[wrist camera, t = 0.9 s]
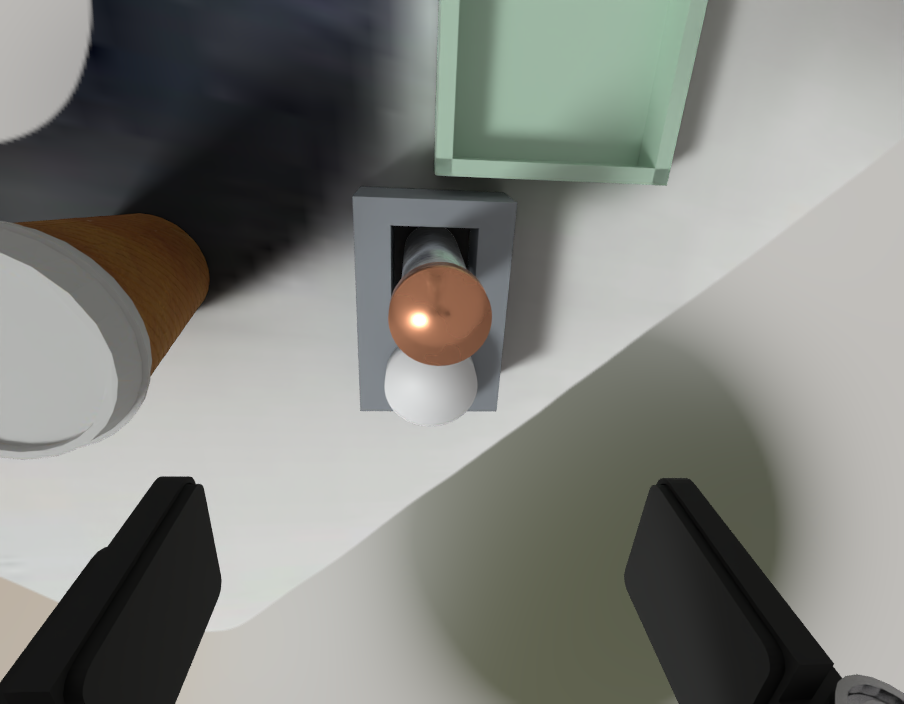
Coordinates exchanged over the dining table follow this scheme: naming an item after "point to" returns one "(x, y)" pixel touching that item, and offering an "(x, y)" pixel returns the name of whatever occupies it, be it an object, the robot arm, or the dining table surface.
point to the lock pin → (437, 301)
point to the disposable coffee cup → (87, 324)
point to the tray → (563, 88)
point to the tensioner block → (380, 359)
